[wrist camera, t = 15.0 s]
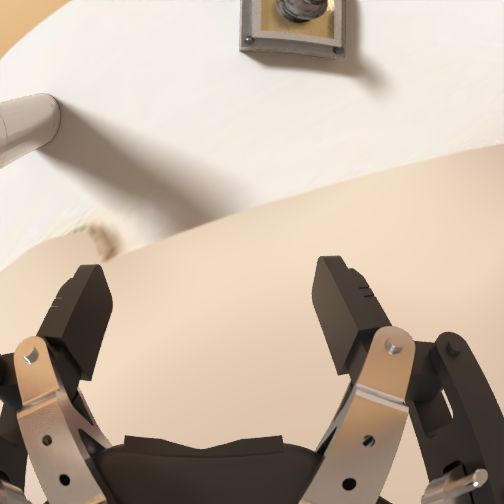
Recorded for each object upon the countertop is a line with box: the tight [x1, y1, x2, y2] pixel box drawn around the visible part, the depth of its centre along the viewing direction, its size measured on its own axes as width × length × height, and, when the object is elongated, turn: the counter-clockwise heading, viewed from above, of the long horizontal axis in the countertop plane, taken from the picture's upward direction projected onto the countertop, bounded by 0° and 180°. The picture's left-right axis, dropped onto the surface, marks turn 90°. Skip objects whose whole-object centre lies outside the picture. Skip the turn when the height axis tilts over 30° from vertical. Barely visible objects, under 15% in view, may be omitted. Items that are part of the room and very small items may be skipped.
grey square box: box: [239, 0, 346, 59], centre depth 26 cm, size 14×14×6 cm
